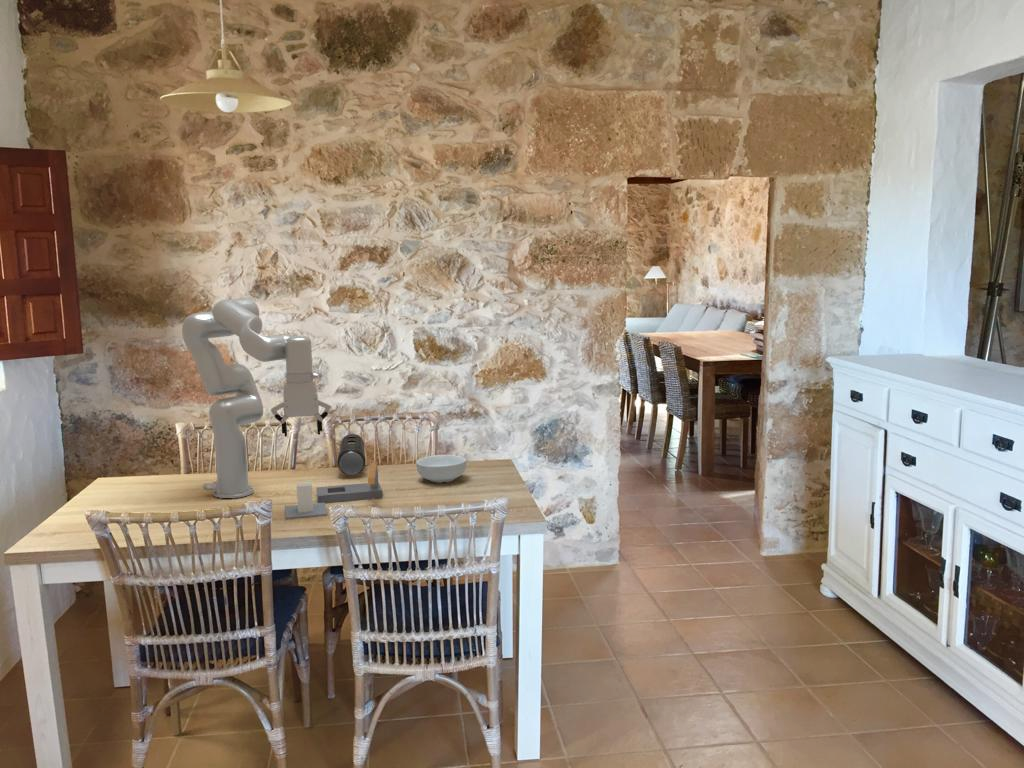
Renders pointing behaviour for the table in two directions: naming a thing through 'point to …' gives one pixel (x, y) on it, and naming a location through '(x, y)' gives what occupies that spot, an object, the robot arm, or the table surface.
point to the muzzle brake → (351, 455)
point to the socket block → (349, 492)
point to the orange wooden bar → (372, 472)
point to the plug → (304, 497)
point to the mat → (292, 512)
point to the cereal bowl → (441, 467)
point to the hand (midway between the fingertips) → (302, 434)
